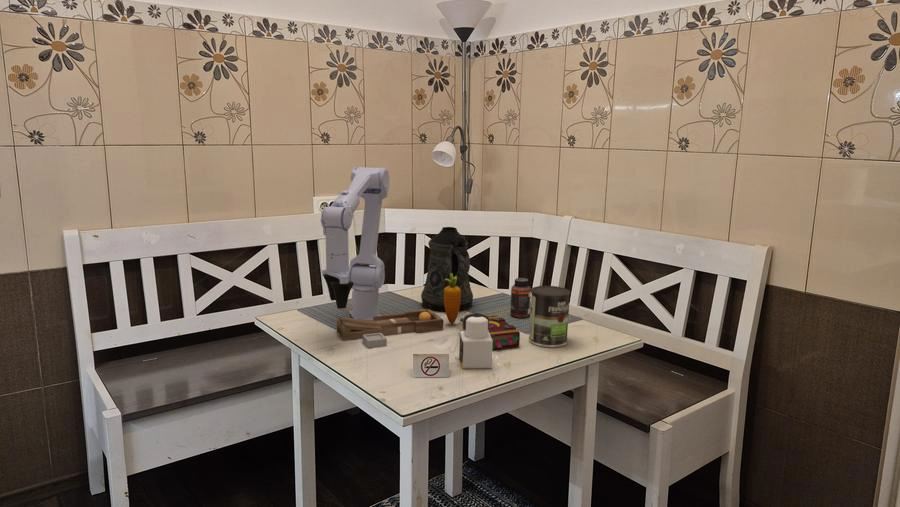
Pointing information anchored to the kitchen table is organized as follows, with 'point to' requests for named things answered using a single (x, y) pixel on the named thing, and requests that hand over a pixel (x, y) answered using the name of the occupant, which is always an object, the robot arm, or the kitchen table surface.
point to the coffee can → (549, 316)
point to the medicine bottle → (475, 342)
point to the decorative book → (501, 333)
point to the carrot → (452, 299)
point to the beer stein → (447, 269)
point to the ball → (424, 316)
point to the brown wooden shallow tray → (388, 325)
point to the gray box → (374, 340)
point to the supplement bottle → (520, 298)
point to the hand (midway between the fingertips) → (338, 303)
